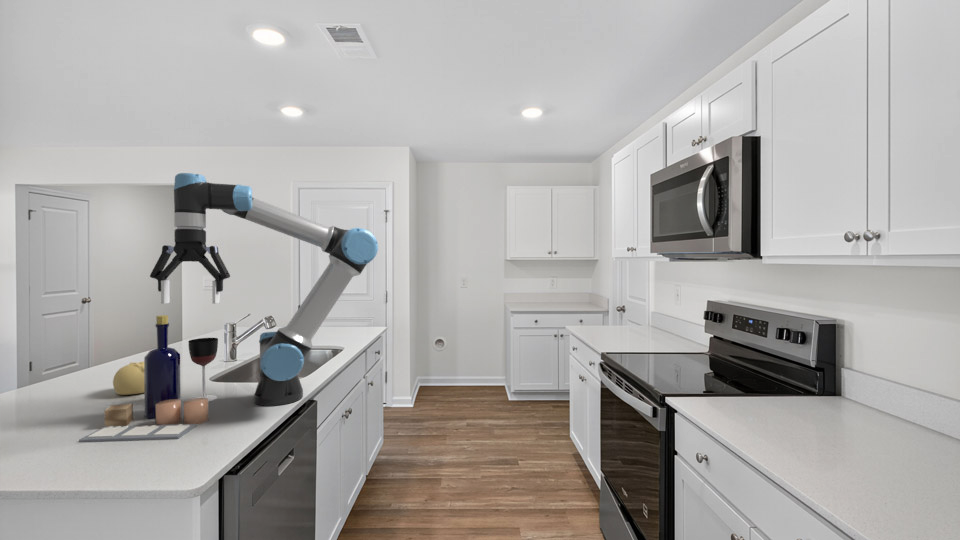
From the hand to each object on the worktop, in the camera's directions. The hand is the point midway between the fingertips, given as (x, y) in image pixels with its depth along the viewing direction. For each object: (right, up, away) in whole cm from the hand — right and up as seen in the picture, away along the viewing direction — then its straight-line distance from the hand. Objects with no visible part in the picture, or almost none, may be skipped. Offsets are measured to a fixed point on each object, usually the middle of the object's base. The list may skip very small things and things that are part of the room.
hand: (190, 303), depth 126 cm
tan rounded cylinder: (0, -35, +3) cm, 35 cm away
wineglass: (-11, -34, +23) cm, 43 cm away
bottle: (-14, -34, +9) cm, 38 cm away
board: (-9, -35, -7) cm, 37 cm away
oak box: (-21, -35, 0) cm, 40 cm away
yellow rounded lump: (-38, -34, +29) cm, 59 cm away
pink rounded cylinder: (-7, -35, +1) cm, 35 cm away
